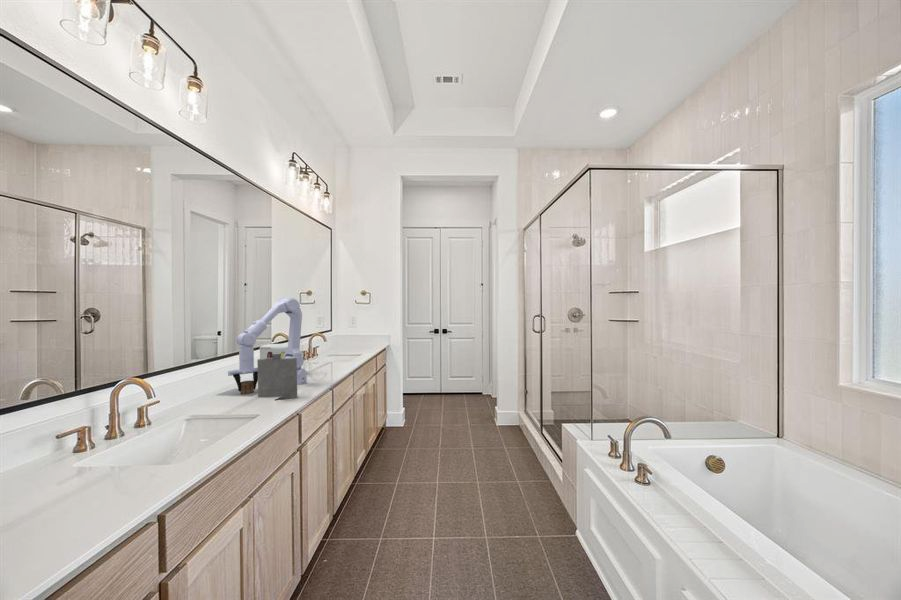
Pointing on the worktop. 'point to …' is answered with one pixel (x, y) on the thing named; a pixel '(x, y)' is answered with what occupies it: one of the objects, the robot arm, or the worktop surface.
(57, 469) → the worktop surface
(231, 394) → the board
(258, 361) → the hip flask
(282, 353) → the supplement box
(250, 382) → the cap
